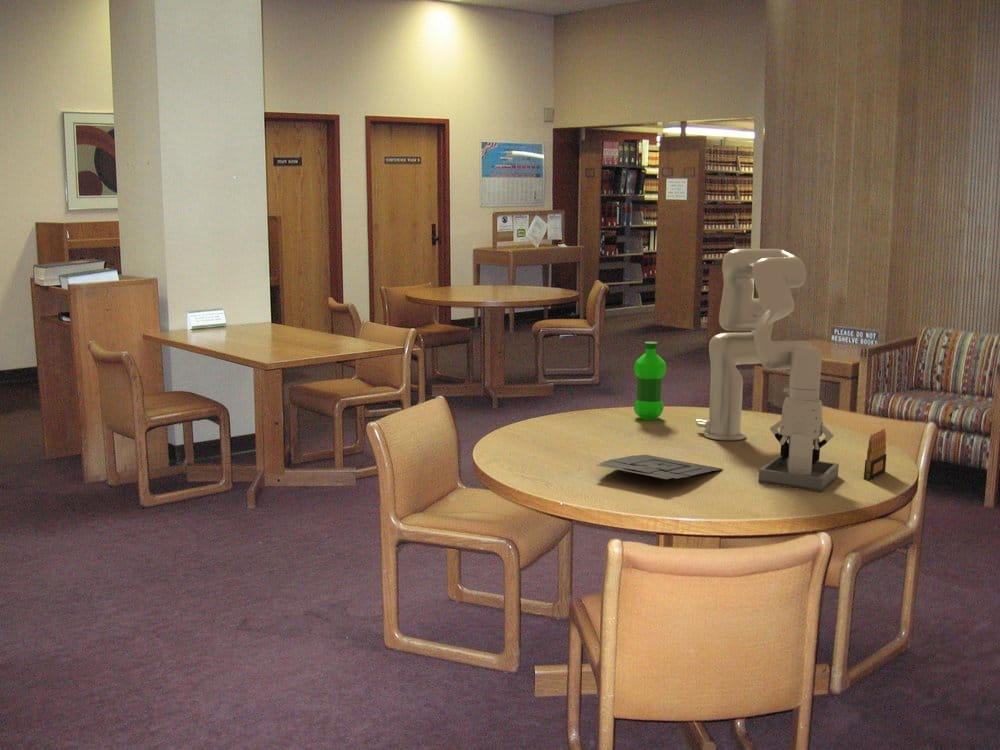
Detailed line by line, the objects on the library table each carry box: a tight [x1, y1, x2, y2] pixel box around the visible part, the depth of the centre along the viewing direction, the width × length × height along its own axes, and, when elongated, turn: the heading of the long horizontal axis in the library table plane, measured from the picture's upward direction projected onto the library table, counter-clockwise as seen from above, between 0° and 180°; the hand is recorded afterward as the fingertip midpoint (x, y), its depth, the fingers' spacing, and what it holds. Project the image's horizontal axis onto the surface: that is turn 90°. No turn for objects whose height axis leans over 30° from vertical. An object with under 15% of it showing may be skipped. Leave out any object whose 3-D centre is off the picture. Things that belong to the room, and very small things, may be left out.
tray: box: [758, 454, 840, 493], centre depth 269 cm, size 16×17×4 cm
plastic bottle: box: [633, 341, 667, 421], centre depth 336 cm, size 10×10×25 cm
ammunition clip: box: [863, 428, 887, 481], centre depth 273 cm, size 11×2×12 cm, turn 140°
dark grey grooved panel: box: [596, 454, 723, 480], centre depth 274 cm, size 24×30×4 cm
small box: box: [787, 434, 814, 475], centre depth 269 cm, size 8×6×10 cm
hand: (799, 460), depth 269 cm, fingers closed on small box, 7 cm apart
